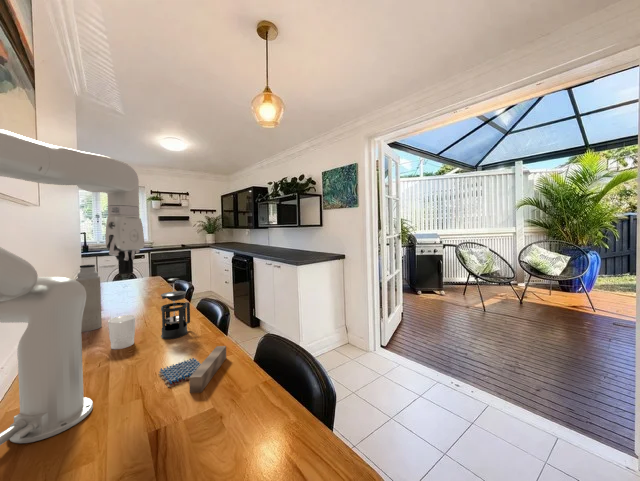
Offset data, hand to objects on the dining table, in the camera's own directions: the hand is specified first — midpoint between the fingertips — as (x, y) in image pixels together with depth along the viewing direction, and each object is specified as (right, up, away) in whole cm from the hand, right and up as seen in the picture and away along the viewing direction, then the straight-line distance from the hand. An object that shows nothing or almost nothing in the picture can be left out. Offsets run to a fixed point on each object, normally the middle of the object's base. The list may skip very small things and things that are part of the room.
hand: (126, 273), depth 77 cm
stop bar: (+27, -29, -3) cm, 40 cm away
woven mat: (+19, -30, -3) cm, 35 cm away
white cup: (-14, -29, +17) cm, 36 cm away
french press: (0, -29, +27) cm, 39 cm away
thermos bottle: (-42, -29, +34) cm, 61 cm away
